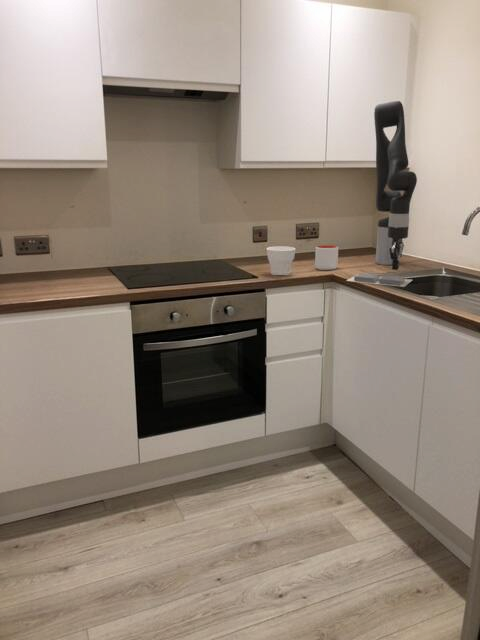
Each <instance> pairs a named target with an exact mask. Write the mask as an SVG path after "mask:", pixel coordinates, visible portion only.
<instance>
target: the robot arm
mask: <svg viewBox="0 0 480 640" xmlns="http://www.w3.org/2000/svg"><path fill="white" fill-rule="evenodd" d="M373 115H374V129H375V145H376V147H375V157H376V158H375V163H376V164H375V168H376V200H375V206H376V210H377V211H378V212H382V213H383V212H385V213H389V216H388V217H386V218H382V219H379V220H378V222H377V234H376V237H377V239H376V249H375V250H376V251H375V264H378V265H381V266H382V265H385V266H389V265H390V266H391V269H392V271H393V270H394V271H397V270H399V267H400V266H399V265H400V260H401V258H402V254H403V250H404V247H405V245H404V242H403V239H407V238H408V236H409V229H410V227H409V226H410V206H411V201H412V197H413V194H414V191H415V188H416V185H417V182H418V177H417V175H416V173H415V172H414V171H406V169H407V168H408V166H409V157H408V153H407V146H406V123H405V121H406V120H405V110H404V105H403V103H402V101H400V100H395V101H389V102H384V103H378V104H377V105H375V107H374V113H373ZM391 127H396V130H395V133H394V134H393V137H392V139H391V140H390V139H389V138H388V136H387V135H386V133H385V131H384V129H385V128H391ZM404 170H405V171H404ZM386 187H388V189H389V190H385V189H386ZM400 191H401V192H403V193H401V192H400Z"/></svg>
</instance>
